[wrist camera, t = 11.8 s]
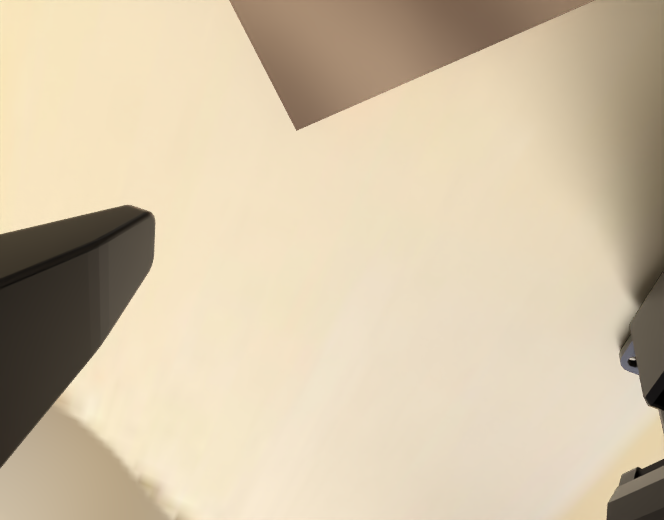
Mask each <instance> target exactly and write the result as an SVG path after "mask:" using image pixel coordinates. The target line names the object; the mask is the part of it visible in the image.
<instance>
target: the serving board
mask: <svg viewBox="0 0 664 520" xmlns="http://www.w3.org/2000/svg"><path fill="white" fill-rule="evenodd" d="M229 1H230V2H231V4H232V6H233V8H234V10H235V12H236V14H237V16H238V18H239V20H240V22H241V24H242V26H243V28H244V30H245V32H246V34H247V35H248V37H249V39H250V41H251V43H252V45H253V47H254V49H255V51H256V53H257V55H258V57H259V59H260V61H261V63H262V65H263V67H264V68H265V70H266V72H267V74H268V76H269V78H270V80H271V82H272V84H273V86H274V88H275V90H276V92H277V94H278V96H279V98H280V100H281V101H282V103H283V105H284V107H285V109H286V111H287V113H288V115H289V117H290V119H291V121H292V123H293V125H294V127H295V129H296V131H297V130H299V129H301V128H304V127H306V126H308V125H310V124H313V123H315V122H317V121H320V120H322V119H324V118H326V117H329V116H331V115H333V114H336V113H338V112H340V111H343V110H345V109H347V108H349V107H352V106H354V105H356V104H359V103H361V102H363V101H365V100H368V99H370V98H372V97H375V96H377V95H379V94H381V93H384V92H386V91H388V90H391V89H393V88H395V87H397V86H400V85H402V84H404V83H407V82H409V81H411V80H413V79H416V78H418V77H420V76H423V75H425V74H427V73H429V72H432V71H434V70H436V69H439V68H441V67H443V66H445V65H448V64H450V63H452V62H455V61H457V60H459V59H461V58H464V57H466V56H468V55H471V54H473V53H475V52H477V51H480V50H482V49H484V48H487V47H489V46H491V45H493V44H496V43H498V42H500V41H503V40H505V39H507V38H509V37H512V36H514V35H516V34H519V33H521V32H523V31H525V30H528V29H530V28H532V27H535V26H537V25H539V24H541V23H544V22H546V21H548V20H551V19H553V18H555V17H557V16H560V15H562V14H564V13H567V12H569V11H571V10H573V9H576V8H578V7H580V6H583V5H585V4H587V3H589V2H592V1H594V0H229Z"/></svg>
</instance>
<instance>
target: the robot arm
mask: <svg viewBox="0 0 664 520" xmlns="http://www.w3.org/2000/svg"><path fill="white" fill-rule="evenodd" d="M154 242H155V218H154V215H153V214H152V213H151V212H150V211H147V210H144V209H141V208H138V207H135V206H132V205H124V206H120V207H115V208H111V209H107V210H103V211H98V212H94V213H90V214H85V215H81V216H77V217H73V218H68V219H64V220H60V221H55V222H51V223H47V224H43V225H38V226H34V227H30V228H26V229H21V230H17V231H13V232H8V233H4V234H0V468H1V467H2V466H3V464H4V463H5V462H6V461H7V460H8V458H9V457H10V456H11V455H12V454H13V452H14V451H15V450H16V449H17V447H18V446H19V445H20V444H21V443H22V441H23V440H24V439H25V438H26V436H27V435H28V434H29V433H30V432H31V431H32V429H33V428H34V427H35V426H36V424H37V423H38V422H39V421H40V420H41V418H42V417H43V416H44V415H45V414H46V412H47V411H48V410H49V409H50V407H51V406H52V405H53V404H54V403H55V401H56V400H57V399H58V398H59V397H60V395H61V394H62V393H63V392H64V390H65V389H66V388H67V387H68V386H69V384H70V383H71V382H72V381H73V380H74V378H75V377H76V376H77V375H78V373H79V372H80V371H81V370H82V369H83V367H84V366H85V365H86V364H87V362H88V361H89V360H90V359H91V358H92V356H93V355H94V354H95V353H96V351H97V350H98V349H99V347H100V346H101V345H102V343H103V342H104V340H105V339H106V337H107V336H108V335H109V333H110V332H111V330H112V328H113V327H114V325H115V324H116V322H117V321H118V319H119V318H120V316H121V314H122V313H123V311H124V310H125V308H126V307H127V305H128V303H129V302H130V300H131V299H132V297H133V296H134V294H135V293H136V291H137V289H138V288H139V286H140V285H141V283H142V282H143V280H144V279H145V277H146V275H147V274H148V272H149V271H150V268H151V266H152V263H153V259H154ZM630 331H631V335H630V336H629V338H628V340H627V341H626V343H625V344H624V346H623V347H622V349H621V351H620V353H619V357H620V362H621V366H622V367H623V368H624V369H625V370H627V371H629V372H632V373H635V374H638V375H639V377H640V382H641V387H642V392H643V397H644V399H645V401H646V403H647V405H648V406H650V407H653V408H656V409H658V410H659V414H660V419H661V423H662V428H663V432H664V272H662V274H661V275H660V277H659V278H658V280H657V282H656V283H655V285H654V286H653V288H652V290H651V291H650V293H649V294H648V296H647V297H646V299H645V301H644V302H643V304H642V305H641V307H640V309H639V310H638V312H637V313H636V315H635V316H634V318H633V320H632V321H631V323H630ZM634 356H636V360H635V361H634V360H630V359H629V358H630V357H634ZM607 520H664V459H663V460H660V461H658V462H656V463H654V464H652V465H650V466H648V467H645V468H643V469H641V468H639V467H637V468H635V469H632V470H630V471H628V472H626V473H624V474H622V476H621V479H620V483H619V487H617V489H616V490H615V492H614V494H613V495H612V497H611V499H610V500H609V502H608V507H607Z"/></svg>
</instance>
